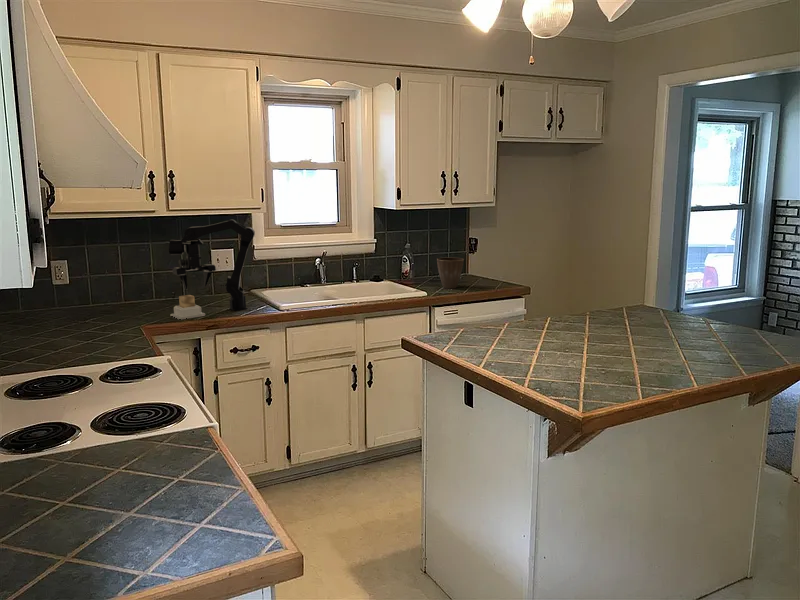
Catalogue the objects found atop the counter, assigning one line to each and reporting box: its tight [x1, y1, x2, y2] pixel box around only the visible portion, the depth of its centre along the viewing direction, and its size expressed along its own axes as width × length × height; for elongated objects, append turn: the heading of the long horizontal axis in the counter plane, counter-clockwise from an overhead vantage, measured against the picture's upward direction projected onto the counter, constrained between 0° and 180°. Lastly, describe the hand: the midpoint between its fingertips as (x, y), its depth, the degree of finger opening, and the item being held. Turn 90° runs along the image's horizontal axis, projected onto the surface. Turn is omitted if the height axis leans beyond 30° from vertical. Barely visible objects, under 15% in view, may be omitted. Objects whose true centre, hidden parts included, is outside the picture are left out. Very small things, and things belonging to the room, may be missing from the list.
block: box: [178, 294, 196, 308], centre depth 288 cm, size 5×5×5 cm
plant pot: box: [436, 256, 465, 289], centre depth 354 cm, size 15×15×16 cm
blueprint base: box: [170, 304, 206, 320], centre depth 289 cm, size 12×10×5 cm
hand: (195, 287), depth 298 cm, fingers open, 9 cm apart
